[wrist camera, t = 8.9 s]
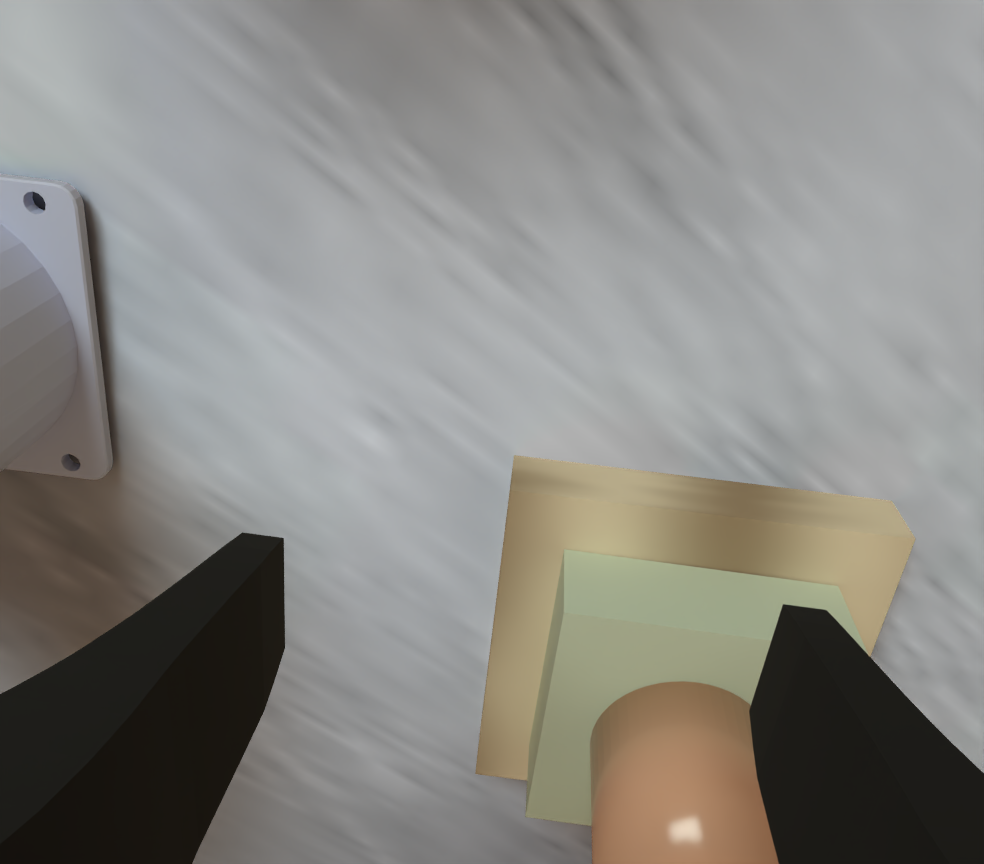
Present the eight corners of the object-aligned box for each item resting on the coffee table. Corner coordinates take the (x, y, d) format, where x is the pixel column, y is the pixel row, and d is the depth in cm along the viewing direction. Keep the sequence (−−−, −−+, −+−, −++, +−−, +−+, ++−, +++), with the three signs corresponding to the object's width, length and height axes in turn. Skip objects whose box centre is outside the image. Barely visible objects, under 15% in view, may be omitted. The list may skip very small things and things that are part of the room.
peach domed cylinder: (578, 796, 23) (579, 969, 19) (603, 670, 21) (610, 836, 17) (747, 817, 23) (783, 997, 19) (789, 693, 21) (840, 866, 17)
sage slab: (528, 744, 26) (525, 817, 23) (564, 549, 22) (563, 612, 20) (767, 777, 26) (786, 853, 23) (838, 586, 22) (867, 653, 20)
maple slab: (482, 712, 29) (475, 773, 26) (515, 442, 24) (510, 490, 22) (789, 750, 28) (808, 816, 26) (882, 486, 24) (915, 538, 22)
